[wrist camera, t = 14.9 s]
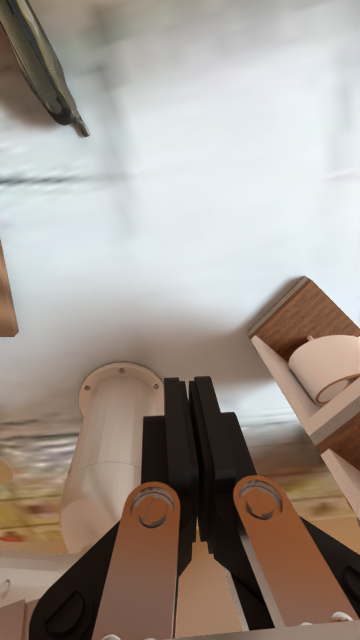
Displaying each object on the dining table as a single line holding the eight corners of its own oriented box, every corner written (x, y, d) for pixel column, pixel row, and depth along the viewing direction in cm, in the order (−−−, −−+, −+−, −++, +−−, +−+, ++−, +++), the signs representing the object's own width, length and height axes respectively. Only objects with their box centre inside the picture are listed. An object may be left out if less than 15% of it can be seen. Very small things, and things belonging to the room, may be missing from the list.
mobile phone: (-64, -77, 23) (57, 140, 28) (-30, -102, 22) (86, 123, 28) (-27, -33, 27) (71, 146, 33) (2, -53, 27) (96, 132, 32)
